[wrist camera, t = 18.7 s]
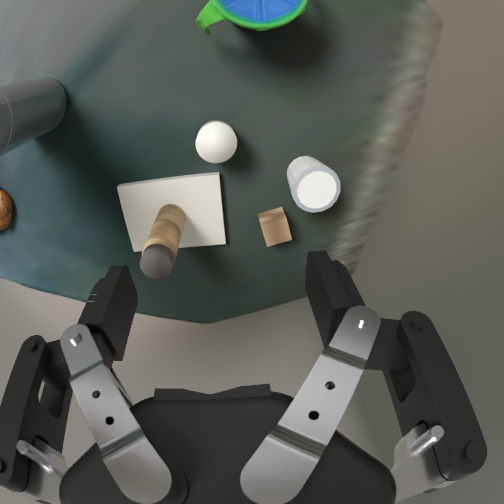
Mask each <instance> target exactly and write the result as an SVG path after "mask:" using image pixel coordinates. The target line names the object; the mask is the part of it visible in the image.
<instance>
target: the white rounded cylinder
mask: <svg viewBox="0 0 504 504" xmlns="http://www.w3.org/2000/svg"><path fill="white" fill-rule="evenodd" d="M236 148H237V138H236V135H235V133H234V131H233V129H232V127H231V126H230V125H229V124H228V123H227V122H225V121H223V120H219V119H214V120H210V121H208V122H206V123H205V124H203V125H202V127H201V128H200V130H199V133H198V135H197V138H196V149H197V152H198V154H199V155H200V156H201V157H202V158H203V159H204V160H206V161H208V162H211V163H221V162H224V161H226V160H228V159H229V158H230V157H232V155H233V154H234V153H235V151H236Z"/></svg>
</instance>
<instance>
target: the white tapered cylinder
mask: <svg viewBox="0 0 504 504" xmlns="http://www.w3.org/2000/svg"><path fill="white" fill-rule="evenodd" d="M287 179H288V182H289V186H290V189H291V193H292V196H293V199H294V201H295V202H296V204H297V206H299V207H300V208H301V209H303V210H304V211H308V212H312V213H314V212H321V211H324V210H326V209H328V208H330V207H331V206H332V205H333V204H334V203H335V202H336V200H337V199H338V196H339V194H340V181H339V178H338V176H337V174H336V173H335V172H333V171H332V170H331V169H330V168H328V167H327V166H325V165H324V164H322V163H321V162H319V161H318V160H316V159H314V158H312V157H308V156H303V157H299V158H297V159H295V160H293V161H292V163H291V164H290V165H289V167H288V170H287Z"/></svg>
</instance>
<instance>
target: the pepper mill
mask: <svg viewBox="0 0 504 504" xmlns="http://www.w3.org/2000/svg"><path fill="white" fill-rule="evenodd" d="M184 222H185V213H184V211H183V209H182V208H181V207H179V206H177V205H175V204H167V205H164V206H163V207H162V208H161V209H160V210H159V212H158V215H157V217H156V219H155V222H154V224H153V226H152V229H151V231H150V233H149V236H148V238H147V241H146V243H145V246H144V248H143V251H142V258H141V260H140V268H141V270H142V272H143V273H144V274H145V275H146V276H148V277H150V278H152V279H164V278H166V277H167V276H169V275H170V273H171V271H172V266H173V265H174V263H175V260H176V256H177V251H178V247H179V243H180V238H181V234H182V230H183V226H184Z"/></svg>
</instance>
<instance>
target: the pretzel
mask: <svg viewBox="0 0 504 504" xmlns="http://www.w3.org/2000/svg"><path fill="white" fill-rule="evenodd" d="M11 212H12V200H11V198H10V196H9V195H8V193H7V192H5V191H4V190H1V189H0V231H1V230H4V229H5V228H7V227H8V226H9V224H10V221H11V217H12V213H11Z"/></svg>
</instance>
